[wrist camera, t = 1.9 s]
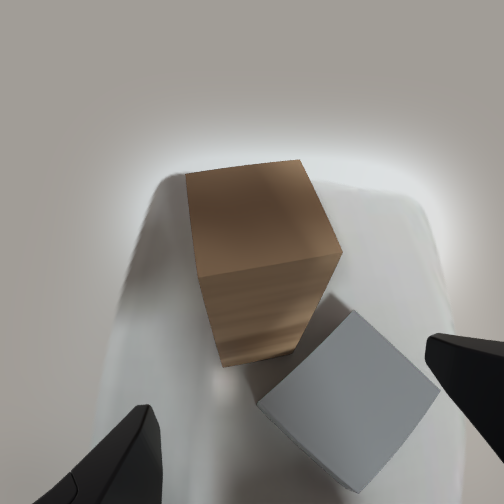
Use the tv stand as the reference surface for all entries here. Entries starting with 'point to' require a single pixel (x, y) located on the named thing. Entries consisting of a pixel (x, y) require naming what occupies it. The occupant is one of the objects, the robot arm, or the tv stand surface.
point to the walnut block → (259, 256)
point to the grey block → (351, 402)
